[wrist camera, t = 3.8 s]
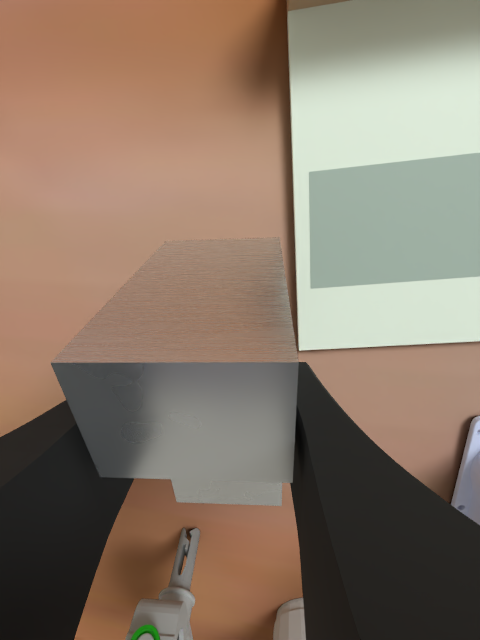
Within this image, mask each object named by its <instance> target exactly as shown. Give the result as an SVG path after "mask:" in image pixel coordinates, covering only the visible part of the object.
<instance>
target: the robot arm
mask: <svg viewBox="0 0 480 640" xmlns="http://www.w3.org/2000/svg"><path fill="white" fill-rule="evenodd" d="M478 430H479V431H478ZM133 480H134V478H112V477H100V476H99V474H98V471H97V469H96V467H95V464H94V462H93V460H92V457H91V455H90V453H89V450H88V448H87V446H86V443H85V441H84V439H83V437H82V434H81V432H80V430H79V427H78V425H77V423H76V420H75V418H74V416H73V413H72V411H71V409H70V406H69V404H68V402H67V400H66V401H64V402H62V403H60V404H59V405H57V406H55V407H54V408H52V409H50V410H49V411H47V412H45V413H44V414H42V415H40V416H39V417H37V418H35V419H33V420H32V421H30V422H28V423H26V424H25V425H23V426H21V427H19V428H17V429H15V430H13V431H11V432H10V433H8V434H6V435H4V436H2V437H0V640H74V638H75V634H76V631H77V628H78V625H79V622H80V619H81V616H82V613H83V609H84V606H85V603H86V600H87V597H88V594H89V591H90V588H91V585H92V582H93V579H94V576H95V573H96V570H97V567H98V565H99V562H100V559H101V556H102V553H103V550H104V547H105V545H106V542H107V539H108V536H109V534H110V531H111V529H112V527H113V524H114V522H115V519H116V517H117V515H118V513H119V510H120V508H121V506H122V504H123V502H124V499H125V497H126V495H127V493H128V491H129V488H130V486H131V484H132V482H133ZM290 484H291V491H292V497H293V504H294V510H295V517H296V523H297V530H298V539H299V547H300V561H301V575H302V589H303V603H304V618H305V633H306V640H480V416H477V417H475V418H474V419H473V420H472V422H471V425H470V429H469V433H468V437H467V441H466V445H465V449H464V454H463V458H462V462H461V466H460V470H459V474H458V478H457V482H456V486H455V490H454V494H453V498H452V502H451V505H450V504H449V503H448V502H446V501H445V500H443V499H442V498H441V497H440V496H438V495H437V494H436V493H434V492H433V491H432V490H430V489H429V488H428V487H427V486H425V485H424V484H423V483H421V482H420V481H419V480H417V479H416V478H415V477H414V476H412V475H411V474H410V473H409V472H407V471H406V470H405V469H404V468H402V467H401V466H400V465H399V464H398V463H396V462H395V461H394V460H393V459H392V458H391V457H390V456H388V455H387V454H386V453H385V452H384V451H383V450H382V449H381V448H380V447H378V446H377V445H376V444H375V443H374V442H373V441H372V440H371V439H370V438H369V437H368V436H367V435H366V434H365V433H364V432H363V431H362V430H361V429H360V428H359V427H358V426H357V425H356V424H355V423H354V421H353V420H352V419H351V418H350V417H349V416H348V415H347V414H346V413H345V412H344V410H343V409H342V408H341V407H340V406H339V405H338V403H337V402H336V401H335V400H334V399H333V397H332V396H331V395H330V394H329V392H328V391H327V390H326V389H325V387H324V386H323V385H322V383H321V382H320V381H319V379H318V378H317V377H316V375H315V374H314V372H313V371H312V369H311V368H310V366H309V365H308V364H307V363H306V362H299V365H298V385H297V405H296V426H295V446H294V466H293V483H290Z"/></svg>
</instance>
